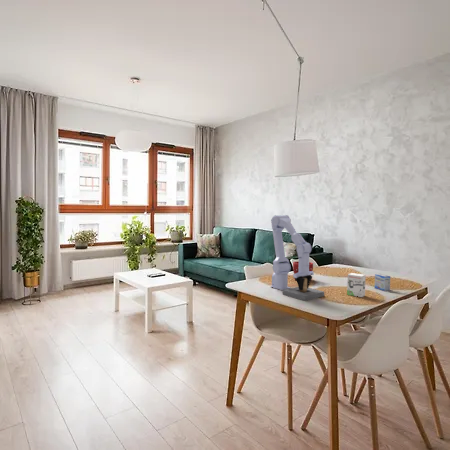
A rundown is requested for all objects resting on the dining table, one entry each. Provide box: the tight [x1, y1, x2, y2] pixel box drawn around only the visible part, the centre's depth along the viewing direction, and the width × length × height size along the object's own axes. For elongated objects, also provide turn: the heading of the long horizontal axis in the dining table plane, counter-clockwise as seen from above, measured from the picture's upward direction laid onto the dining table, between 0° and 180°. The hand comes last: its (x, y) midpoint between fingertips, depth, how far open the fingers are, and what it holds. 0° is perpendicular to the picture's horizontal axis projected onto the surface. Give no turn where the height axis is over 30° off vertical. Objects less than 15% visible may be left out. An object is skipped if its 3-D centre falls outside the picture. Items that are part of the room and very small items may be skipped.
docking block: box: [282, 286, 325, 302], centre depth 192 cm, size 16×16×2 cm
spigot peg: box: [300, 278, 307, 293], centre depth 192 cm, size 4×4×8 cm
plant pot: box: [292, 261, 314, 281], centre depth 231 cm, size 13×13×12 cm
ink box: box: [346, 272, 366, 298], centre depth 192 cm, size 9×5×12 cm, turn 48°
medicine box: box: [374, 273, 391, 292], centre depth 206 cm, size 8×4×9 cm, turn 21°
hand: (303, 289), depth 192 cm, fingers closed on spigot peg, 4 cm apart
